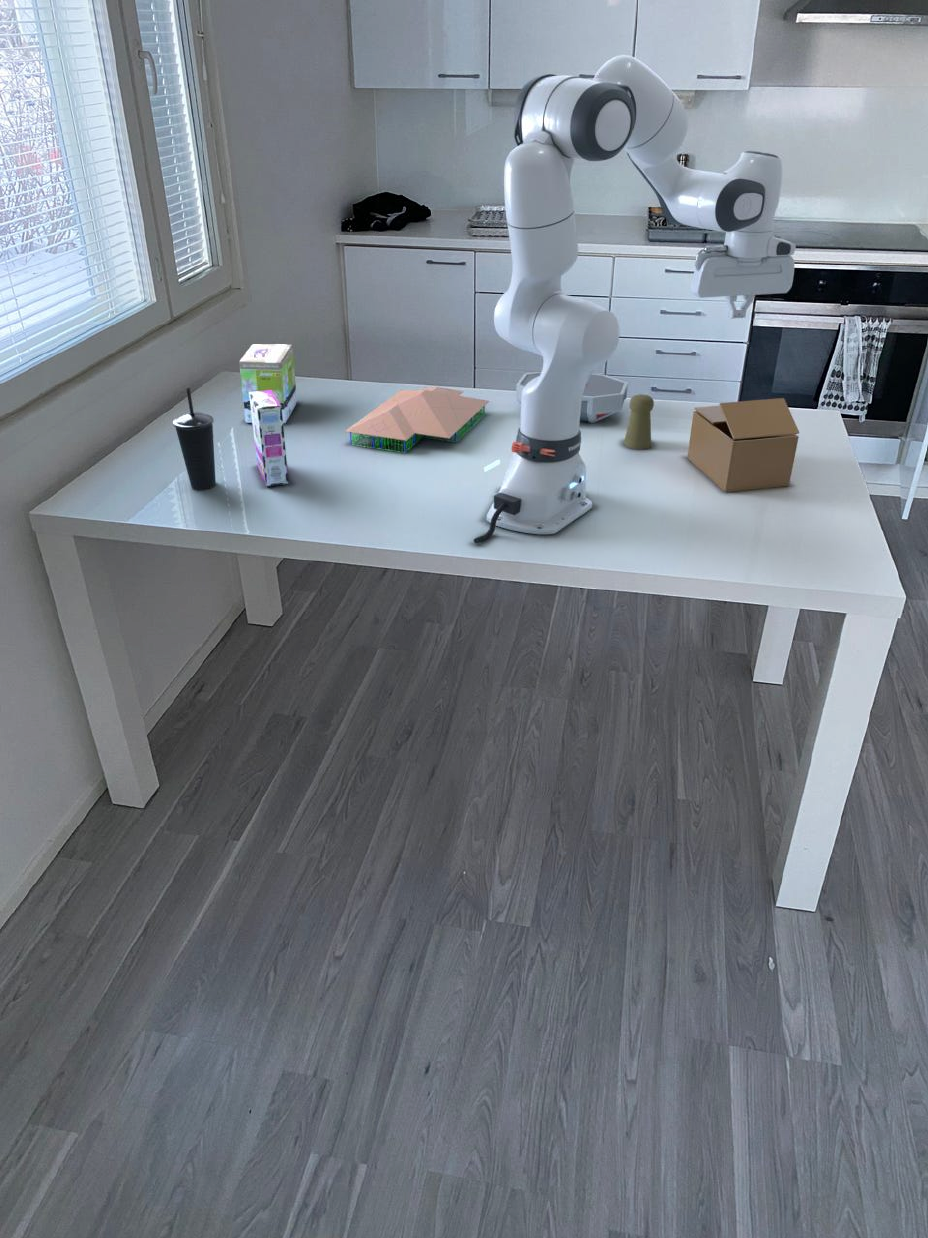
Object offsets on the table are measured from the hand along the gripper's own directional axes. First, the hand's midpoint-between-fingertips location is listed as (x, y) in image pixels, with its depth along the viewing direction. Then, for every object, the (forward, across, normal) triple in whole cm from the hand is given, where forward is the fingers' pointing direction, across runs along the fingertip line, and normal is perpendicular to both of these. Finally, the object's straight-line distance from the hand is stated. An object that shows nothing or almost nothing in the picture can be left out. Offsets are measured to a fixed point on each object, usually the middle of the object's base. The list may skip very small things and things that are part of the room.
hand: (736, 317), depth 188 cm
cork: (+29, -14, +9) cm, 34 cm away
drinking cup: (+29, -108, +7) cm, 112 cm away
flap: (+16, 0, -15) cm, 22 cm away
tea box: (+29, -93, +47) cm, 108 cm away
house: (+29, -59, +30) cm, 72 cm away
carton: (+29, 0, -10) cm, 31 cm away
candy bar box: (+29, -94, +9) cm, 99 cm away
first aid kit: (+29, -23, +31) cm, 48 cm away
